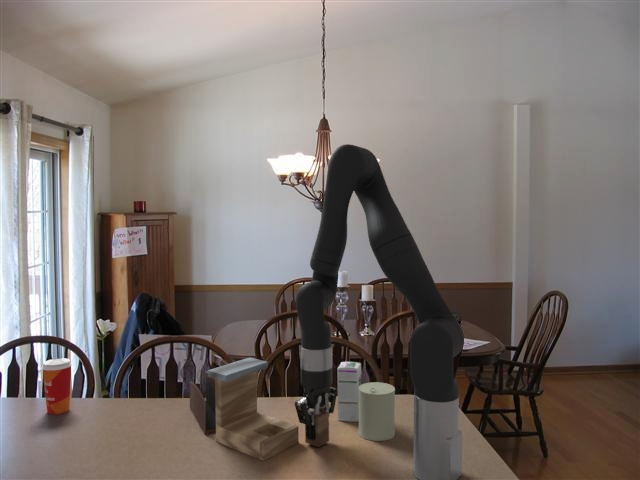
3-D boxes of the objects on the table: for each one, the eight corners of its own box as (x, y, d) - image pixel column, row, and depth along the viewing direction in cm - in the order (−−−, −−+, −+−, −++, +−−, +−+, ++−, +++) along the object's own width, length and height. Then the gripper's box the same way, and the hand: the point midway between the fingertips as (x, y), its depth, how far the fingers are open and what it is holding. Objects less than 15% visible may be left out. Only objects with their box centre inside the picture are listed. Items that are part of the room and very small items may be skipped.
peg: (328, 441, 129) (328, 412, 128) (318, 446, 125) (318, 417, 125) (315, 436, 131) (315, 408, 131) (305, 442, 128) (305, 413, 127)
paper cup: (43, 408, 152) (41, 359, 151) (73, 404, 155) (71, 356, 154) (42, 418, 145) (40, 367, 144) (73, 413, 148) (71, 363, 147)
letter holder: (224, 402, 156) (223, 355, 155) (243, 428, 138) (242, 374, 137) (189, 408, 152) (188, 359, 151) (204, 435, 134) (203, 380, 133)
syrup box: (359, 422, 141) (359, 368, 140) (337, 420, 142) (337, 367, 141) (362, 414, 147) (362, 362, 146) (340, 412, 148) (340, 360, 147)
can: (352, 436, 133) (352, 388, 132) (366, 423, 141) (366, 378, 140) (387, 444, 128) (387, 394, 127) (400, 429, 136) (400, 383, 136)
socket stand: (301, 440, 130) (300, 369, 129) (260, 462, 119) (259, 385, 118) (250, 422, 141) (249, 357, 140) (208, 441, 130) (207, 370, 129)
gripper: (309, 375, 119) (310, 451, 120) (346, 361, 130) (347, 430, 131) (284, 369, 124) (285, 442, 125) (322, 356, 135) (323, 422, 136)
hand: (317, 435), depth 128 cm, fingers closed on peg, 4 cm apart
